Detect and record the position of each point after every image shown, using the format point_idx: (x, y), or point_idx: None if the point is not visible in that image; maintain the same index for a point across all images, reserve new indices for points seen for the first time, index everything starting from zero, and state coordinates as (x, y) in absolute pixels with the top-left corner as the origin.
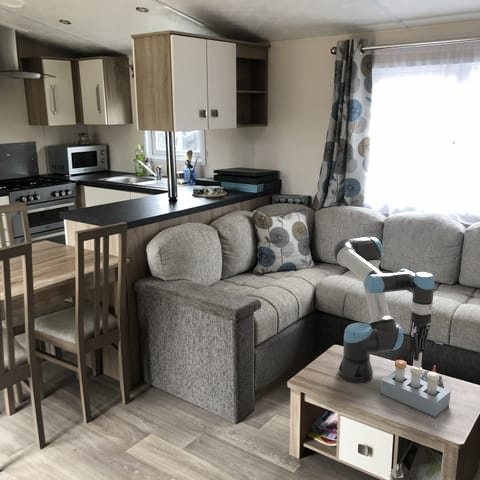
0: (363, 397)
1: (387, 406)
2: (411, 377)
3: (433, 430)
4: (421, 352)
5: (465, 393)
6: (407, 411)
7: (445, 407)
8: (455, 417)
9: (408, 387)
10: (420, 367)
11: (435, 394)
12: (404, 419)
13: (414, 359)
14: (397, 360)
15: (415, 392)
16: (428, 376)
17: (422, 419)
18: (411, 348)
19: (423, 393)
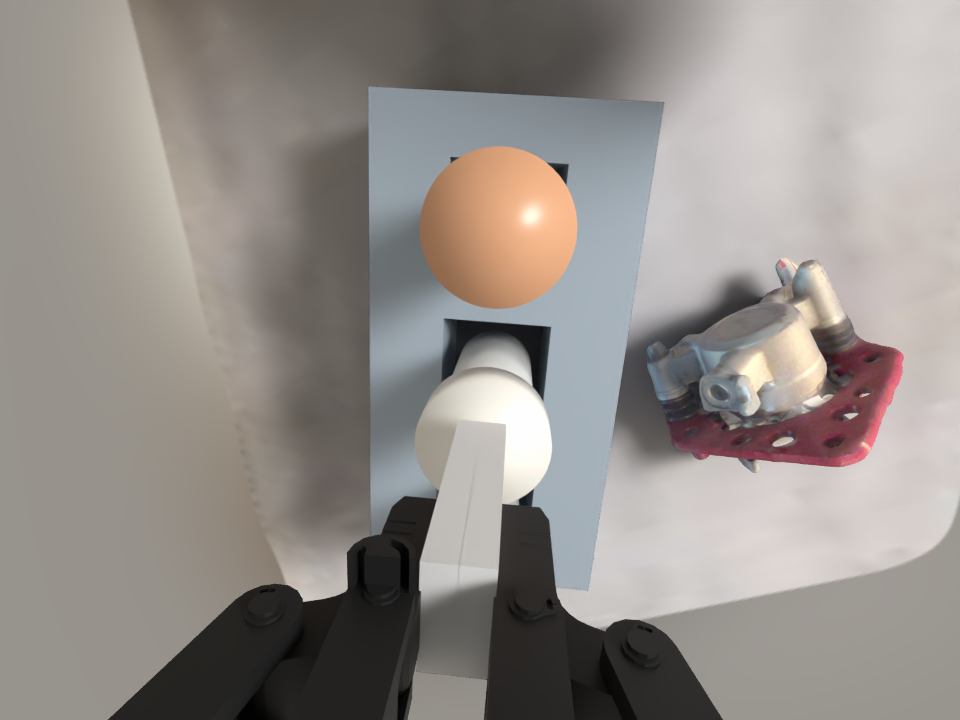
0: (280, 29)
1: (310, 234)
2: (458, 371)
3: (295, 524)
4: (472, 673)
5: (801, 539)
6: (354, 356)
7: None
8: None
9: (421, 346)
10: (535, 471)
11: None
12: (266, 378)
13: (400, 510)
14: (524, 163)
15: (389, 417)
16: None
17: (344, 451)
18: (168, 677)
19: (419, 466)
